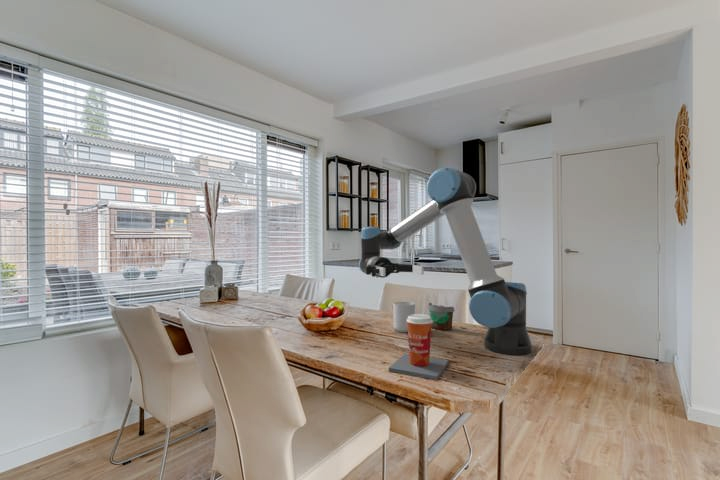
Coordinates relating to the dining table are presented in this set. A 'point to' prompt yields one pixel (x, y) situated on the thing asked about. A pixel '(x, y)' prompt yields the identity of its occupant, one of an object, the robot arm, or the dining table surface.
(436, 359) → the pad
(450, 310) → the food container
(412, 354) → the paper cup
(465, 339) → the dining table surface
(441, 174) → the robot arm
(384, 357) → the dining table surface
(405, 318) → the mug
